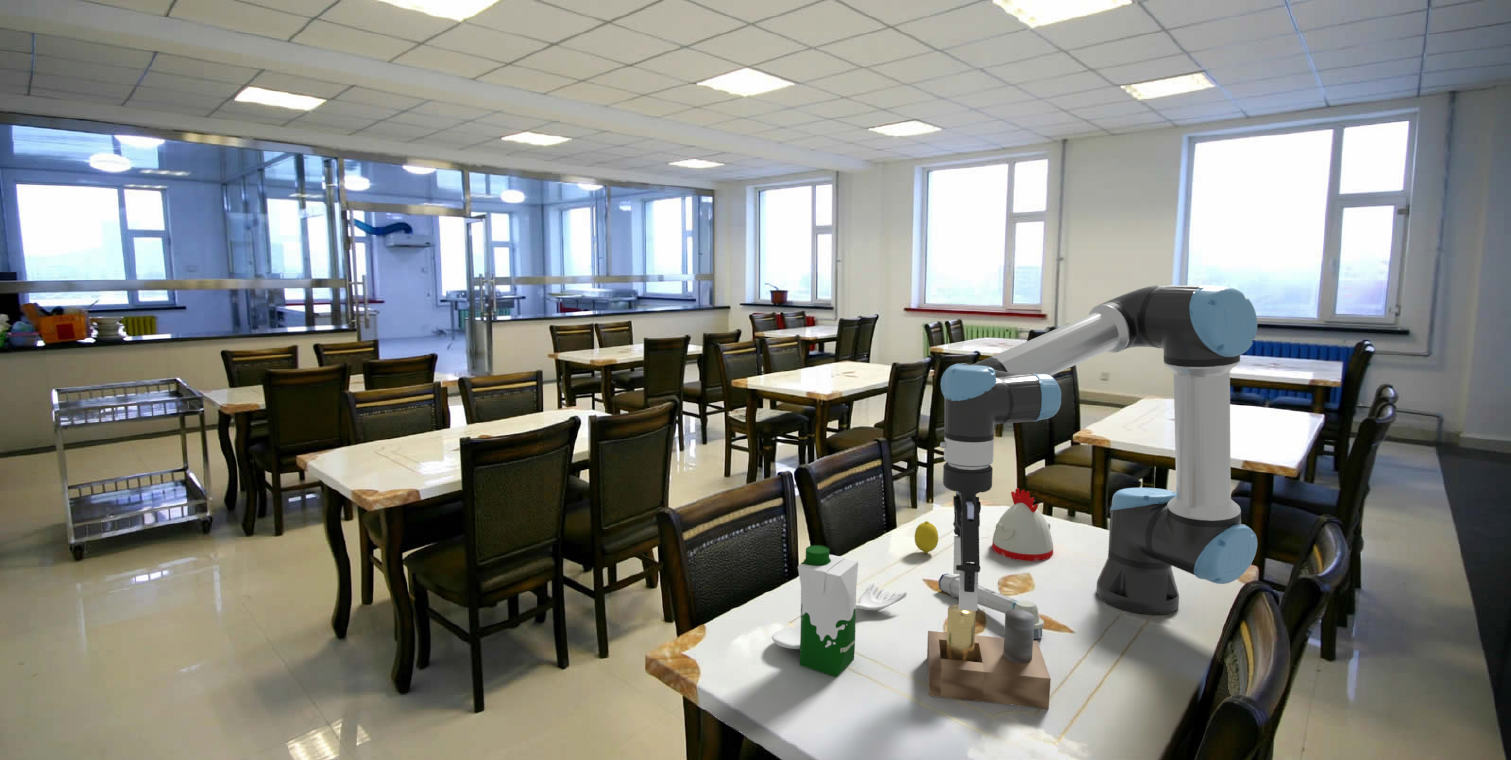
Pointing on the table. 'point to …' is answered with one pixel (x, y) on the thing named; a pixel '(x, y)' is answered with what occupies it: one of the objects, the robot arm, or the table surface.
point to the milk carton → (827, 610)
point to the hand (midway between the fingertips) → (964, 590)
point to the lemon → (926, 537)
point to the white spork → (866, 602)
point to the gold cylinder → (960, 634)
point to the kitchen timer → (1023, 531)
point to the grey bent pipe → (994, 600)
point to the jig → (993, 667)
